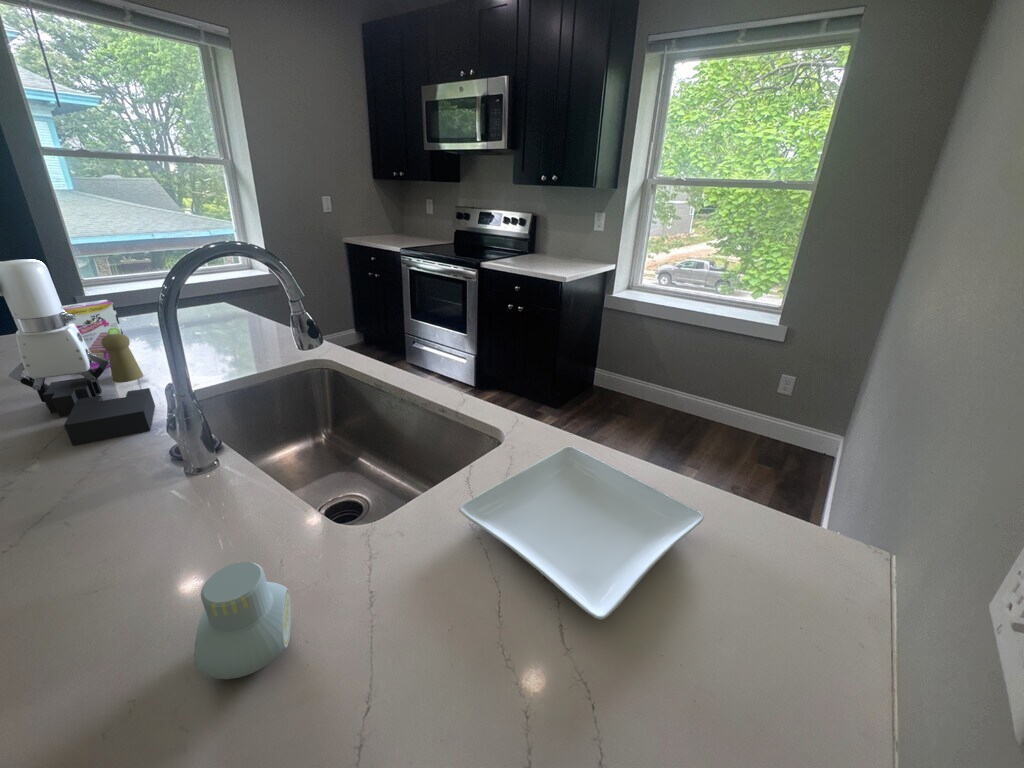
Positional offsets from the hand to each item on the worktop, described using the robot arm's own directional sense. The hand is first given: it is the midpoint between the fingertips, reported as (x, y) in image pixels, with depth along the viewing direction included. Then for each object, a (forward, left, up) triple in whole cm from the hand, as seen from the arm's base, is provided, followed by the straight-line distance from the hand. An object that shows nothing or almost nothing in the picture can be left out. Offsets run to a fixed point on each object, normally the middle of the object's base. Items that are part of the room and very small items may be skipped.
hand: (74, 399), depth 102 cm
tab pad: (0, -1, -1) cm, 2 cm away
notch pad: (+9, -15, -1) cm, 18 cm away
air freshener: (+29, -82, -1) cm, 87 cm away
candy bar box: (+2, +23, -1) cm, 23 cm away
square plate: (+74, -85, -1) cm, 113 cm away
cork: (+8, +12, -1) cm, 14 cm away
